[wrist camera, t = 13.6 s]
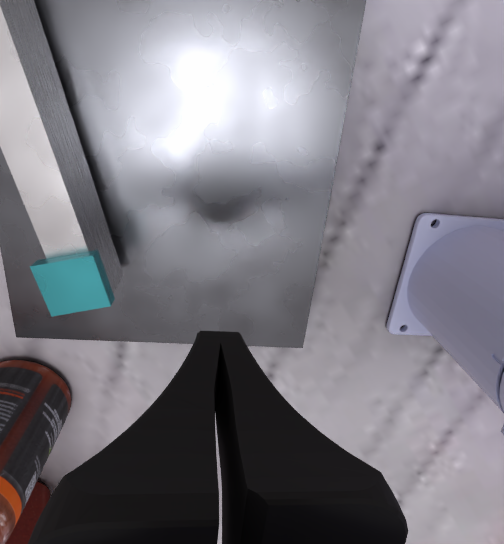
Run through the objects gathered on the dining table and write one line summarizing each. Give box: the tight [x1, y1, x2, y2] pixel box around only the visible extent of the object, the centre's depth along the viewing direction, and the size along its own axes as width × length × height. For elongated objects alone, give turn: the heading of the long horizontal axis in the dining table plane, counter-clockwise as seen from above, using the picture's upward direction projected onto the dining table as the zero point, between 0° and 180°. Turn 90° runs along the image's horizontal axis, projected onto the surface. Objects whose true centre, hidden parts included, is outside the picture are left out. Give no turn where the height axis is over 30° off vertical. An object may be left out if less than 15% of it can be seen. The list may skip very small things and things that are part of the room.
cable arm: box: [0, 0, 124, 317], centre depth 15 cm, size 14×3×4 cm, turn 9°
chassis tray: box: [0, 0, 366, 348], centre depth 19 cm, size 17×24×1 cm
